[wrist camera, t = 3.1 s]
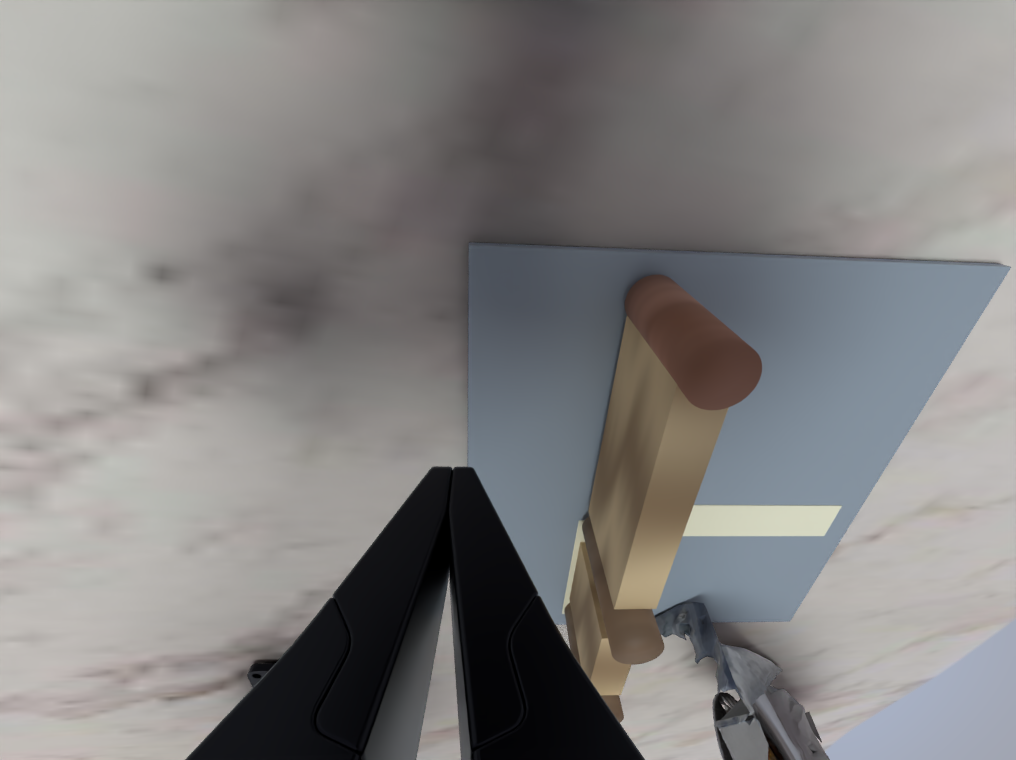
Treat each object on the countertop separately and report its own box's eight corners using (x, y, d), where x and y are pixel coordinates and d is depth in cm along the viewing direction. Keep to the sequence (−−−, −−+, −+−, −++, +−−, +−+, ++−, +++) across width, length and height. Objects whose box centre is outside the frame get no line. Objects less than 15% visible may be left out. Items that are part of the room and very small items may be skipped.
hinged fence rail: (618, 539, 20) (657, 664, 16) (579, 539, 20) (607, 665, 16) (685, 275, 14) (783, 351, 9) (630, 273, 14) (702, 349, 9)
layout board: (785, 614, 25) (790, 622, 25) (467, 618, 24) (466, 626, 24) (999, 263, 15) (1012, 267, 15) (469, 242, 14) (468, 245, 14)
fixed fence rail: (595, 618, 24) (619, 728, 20) (562, 618, 24) (579, 729, 19) (614, 541, 21) (648, 651, 16) (576, 541, 21) (600, 652, 16)
